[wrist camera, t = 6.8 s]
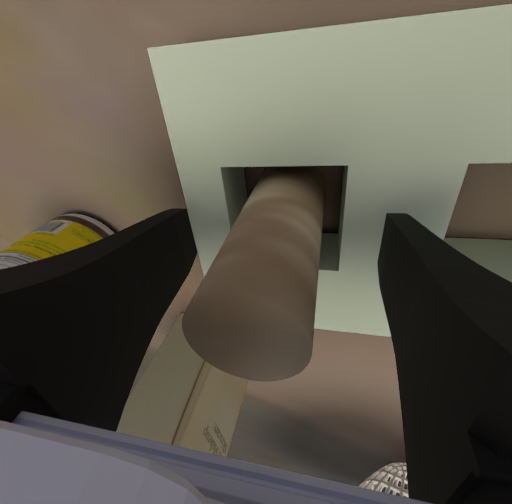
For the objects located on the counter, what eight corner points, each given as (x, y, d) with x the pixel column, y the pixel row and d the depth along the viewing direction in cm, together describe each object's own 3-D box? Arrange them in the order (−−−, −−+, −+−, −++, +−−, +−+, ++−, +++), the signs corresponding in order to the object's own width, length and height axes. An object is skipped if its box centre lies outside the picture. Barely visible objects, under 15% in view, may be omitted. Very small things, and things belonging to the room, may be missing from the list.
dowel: (331, 156, 13) (323, 309, 5) (319, 217, 14) (302, 392, 7) (262, 149, 13) (173, 281, 6) (260, 209, 15) (188, 365, 8)
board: (745, -20, 8) (929, -48, 5) (536, 305, 14) (575, 357, 12) (186, 46, 11) (146, 48, 9) (230, 281, 18) (214, 317, 16)
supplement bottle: (121, 291, 21) (-11, 445, 13) (49, 248, 20) (-141, 387, 12) (146, 245, 18) (-7, 412, 10) (63, 191, 17) (-185, 328, 9)
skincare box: (253, 365, 23) (194, 598, 13) (203, 362, 24) (117, 571, 15) (232, 309, 20) (133, 564, 10) (175, 309, 21) (41, 535, 11)
